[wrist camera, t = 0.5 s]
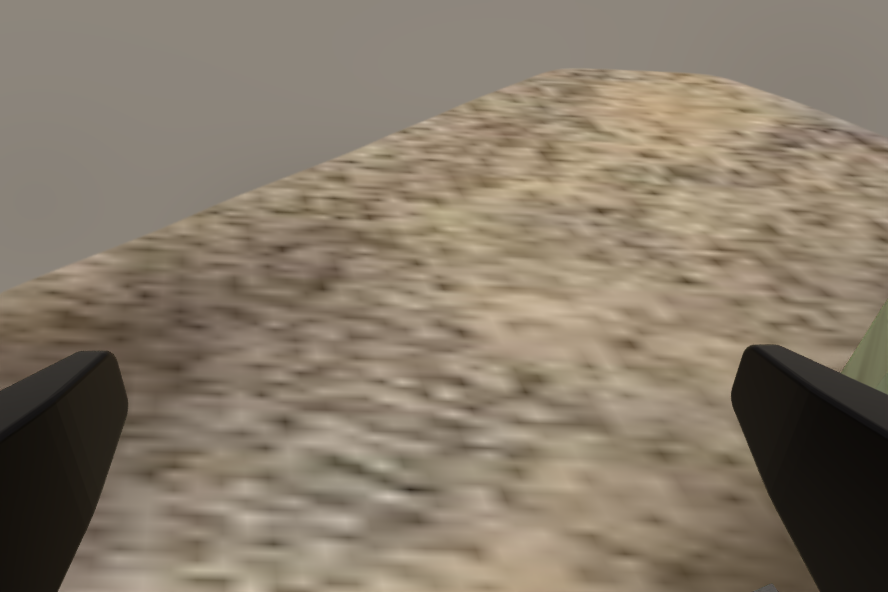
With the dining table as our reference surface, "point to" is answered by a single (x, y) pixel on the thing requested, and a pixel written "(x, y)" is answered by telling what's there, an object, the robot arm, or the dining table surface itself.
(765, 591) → the charcoal cube
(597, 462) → the dining table surface
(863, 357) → the sage pillar
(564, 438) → the dining table surface
